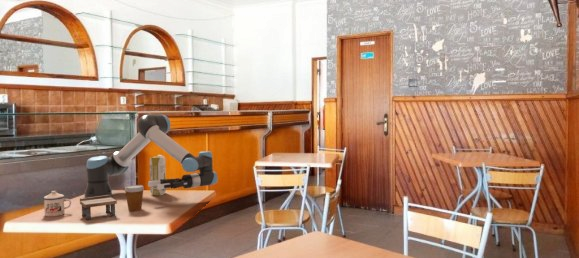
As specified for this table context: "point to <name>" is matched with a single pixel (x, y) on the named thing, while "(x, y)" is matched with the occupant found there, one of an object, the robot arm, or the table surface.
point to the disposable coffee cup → (134, 197)
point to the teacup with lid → (54, 204)
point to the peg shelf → (97, 204)
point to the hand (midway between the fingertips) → (152, 185)
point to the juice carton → (157, 173)
